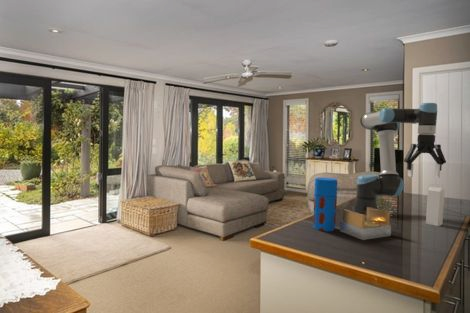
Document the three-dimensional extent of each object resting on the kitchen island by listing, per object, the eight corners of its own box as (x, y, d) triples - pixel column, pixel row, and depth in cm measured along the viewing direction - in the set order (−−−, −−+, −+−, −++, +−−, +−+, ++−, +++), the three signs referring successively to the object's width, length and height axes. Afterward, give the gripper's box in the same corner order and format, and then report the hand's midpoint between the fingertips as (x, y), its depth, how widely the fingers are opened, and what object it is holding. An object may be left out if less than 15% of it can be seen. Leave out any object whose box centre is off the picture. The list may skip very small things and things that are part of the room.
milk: (437, 226, 167) (440, 185, 166) (425, 223, 172) (428, 184, 170) (442, 224, 171) (445, 184, 169) (430, 222, 176) (432, 183, 174)
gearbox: (340, 231, 153) (341, 209, 152) (366, 227, 161) (367, 206, 160) (362, 240, 140) (364, 215, 140) (390, 235, 148) (392, 212, 147)
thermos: (331, 232, 150) (334, 181, 149) (310, 228, 156) (312, 179, 154) (337, 227, 159) (339, 178, 158) (316, 224, 165) (318, 177, 163)
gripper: (406, 133, 151) (403, 177, 153) (456, 135, 152) (453, 178, 154) (397, 133, 159) (395, 175, 160) (445, 135, 160) (442, 176, 161)
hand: (423, 176), depth 157 cm, fingers open, 13 cm apart
